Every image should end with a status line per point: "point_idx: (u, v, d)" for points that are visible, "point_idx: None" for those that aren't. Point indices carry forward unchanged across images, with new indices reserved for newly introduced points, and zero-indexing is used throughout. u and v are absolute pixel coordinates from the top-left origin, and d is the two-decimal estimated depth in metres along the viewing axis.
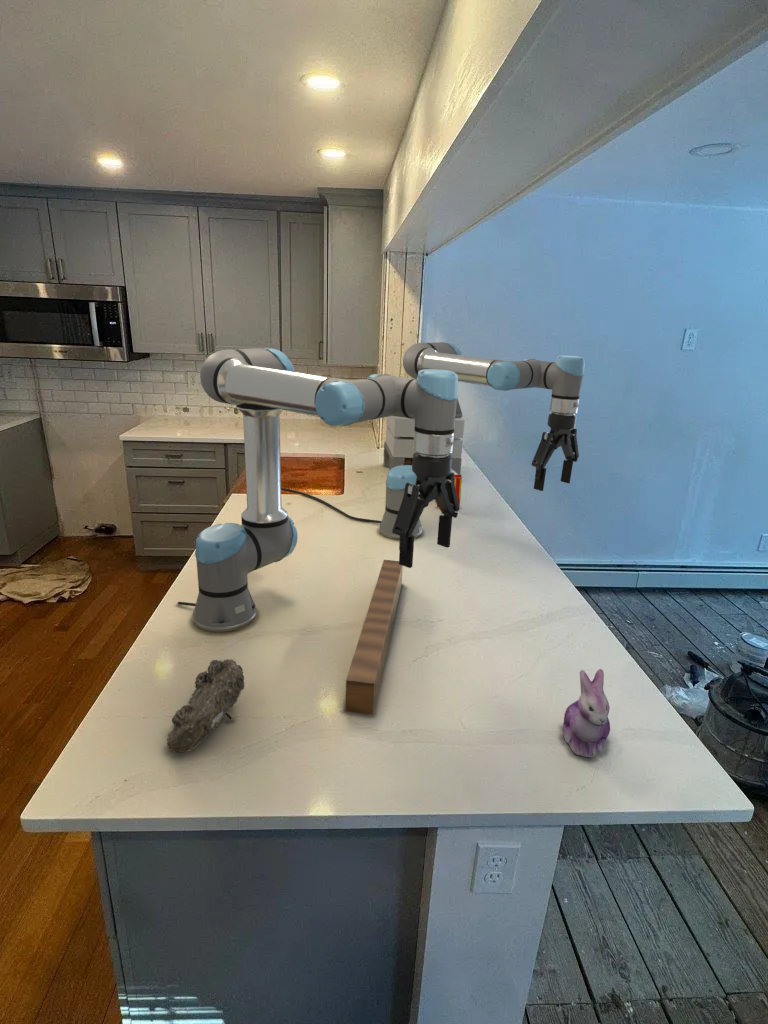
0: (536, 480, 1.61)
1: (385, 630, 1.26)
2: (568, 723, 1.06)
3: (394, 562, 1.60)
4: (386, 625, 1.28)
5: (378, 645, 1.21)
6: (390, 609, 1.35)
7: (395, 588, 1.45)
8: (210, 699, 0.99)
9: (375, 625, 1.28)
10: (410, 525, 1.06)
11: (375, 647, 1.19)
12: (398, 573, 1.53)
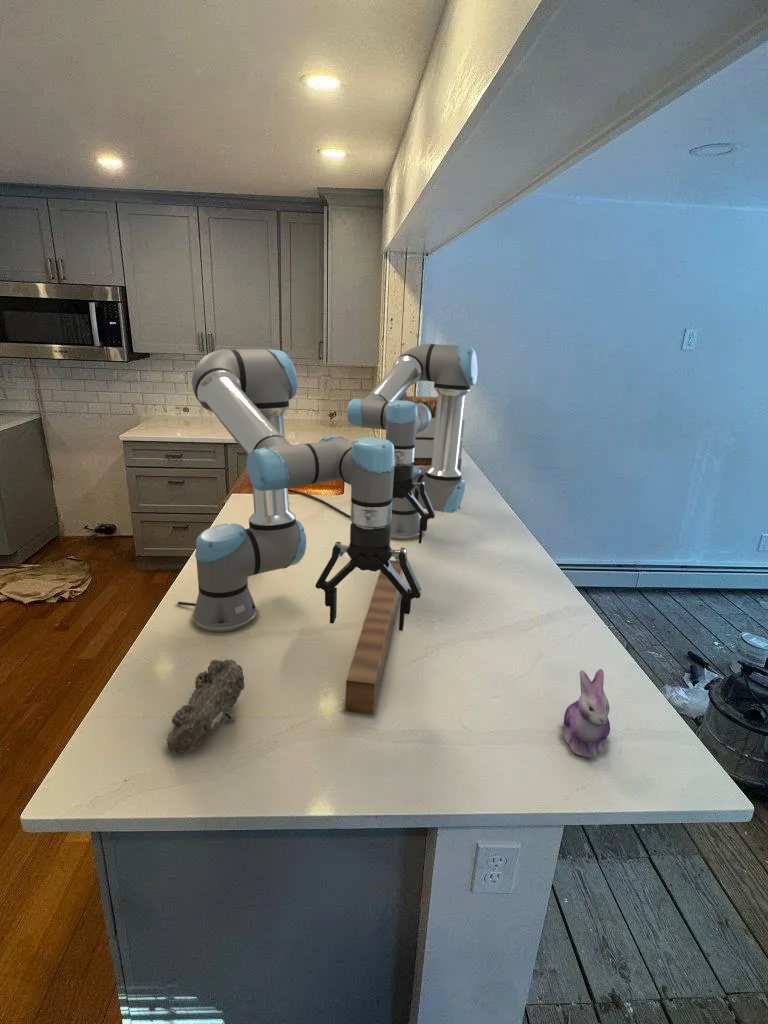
0: None
1: (385, 630, 1.26)
2: (568, 723, 1.06)
3: (394, 562, 1.60)
4: (386, 625, 1.28)
5: (378, 645, 1.21)
6: (390, 609, 1.35)
7: (395, 588, 1.45)
8: (210, 699, 0.99)
9: (375, 625, 1.28)
10: (330, 582, 1.09)
11: (375, 647, 1.19)
12: (398, 573, 1.53)
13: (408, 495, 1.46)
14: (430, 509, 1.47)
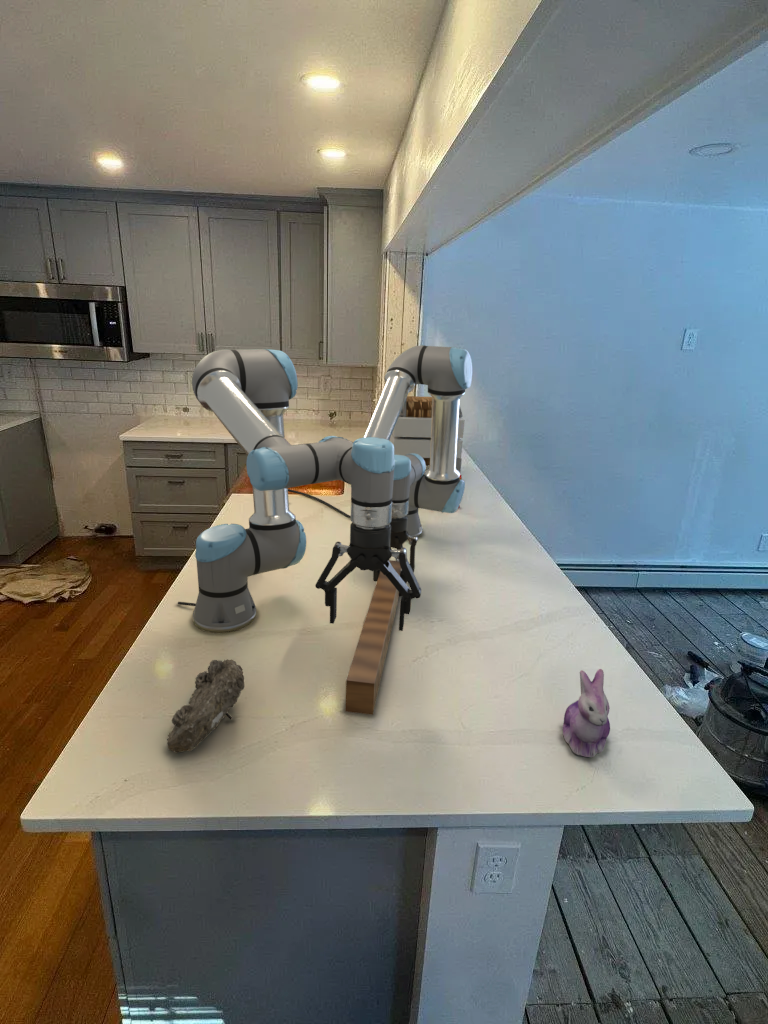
0: None
1: (385, 630, 1.26)
2: (568, 723, 1.06)
3: (394, 562, 1.60)
4: (386, 625, 1.28)
5: (378, 645, 1.21)
6: (390, 609, 1.35)
7: (395, 588, 1.45)
8: (210, 699, 0.99)
9: (375, 625, 1.28)
10: (330, 582, 1.09)
11: (375, 647, 1.19)
12: (398, 573, 1.53)
13: (399, 547, 1.51)
14: (412, 564, 1.52)
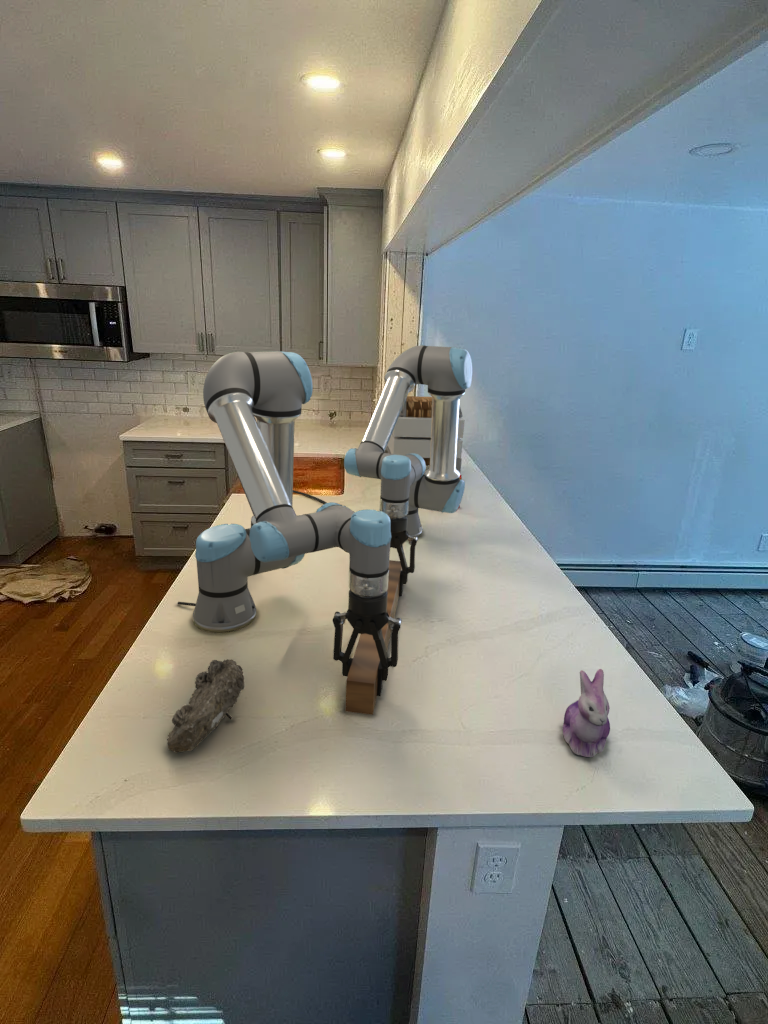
0: None
1: (385, 630, 1.26)
2: (568, 723, 1.06)
3: (394, 562, 1.60)
4: (386, 625, 1.28)
5: None
6: (390, 609, 1.35)
7: (395, 588, 1.45)
8: (210, 699, 0.99)
9: None
10: (344, 654, 1.14)
11: (375, 647, 1.19)
12: (398, 573, 1.53)
13: (399, 547, 1.51)
14: (412, 564, 1.52)
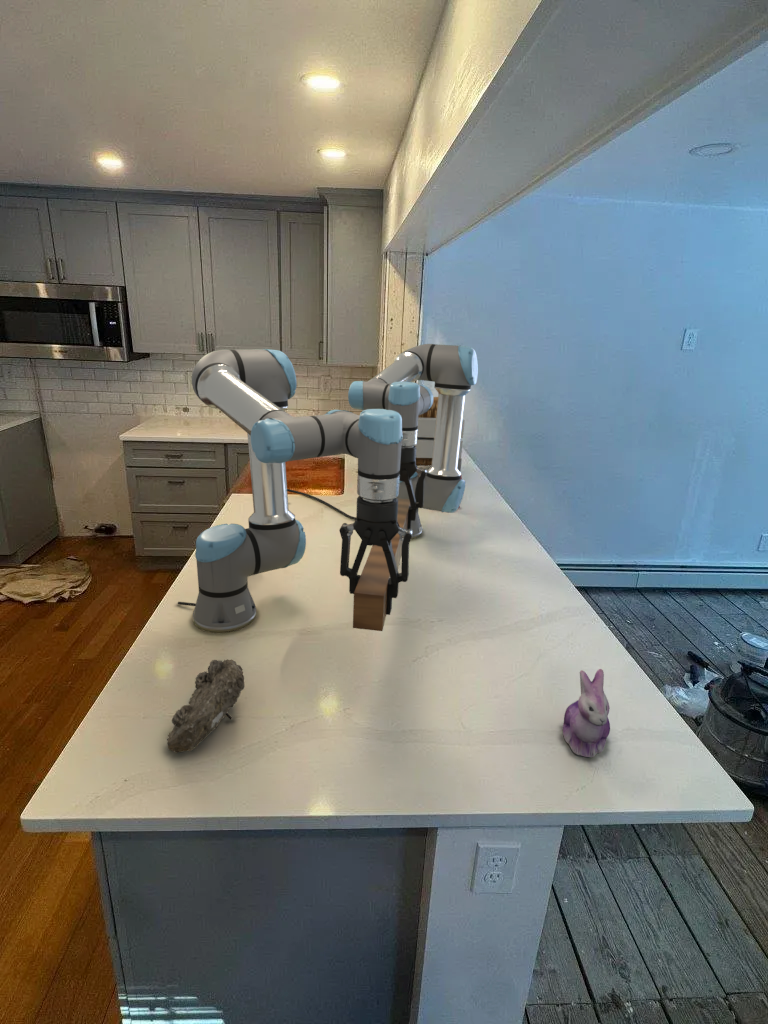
0: None
1: (394, 553, 1.20)
2: (568, 723, 1.06)
3: (402, 499, 1.54)
4: (395, 549, 1.22)
5: None
6: (399, 536, 1.28)
7: (404, 520, 1.39)
8: (210, 699, 0.99)
9: None
10: (352, 568, 1.07)
11: (384, 567, 1.13)
12: (406, 508, 1.47)
13: (407, 480, 1.44)
14: (421, 498, 1.46)
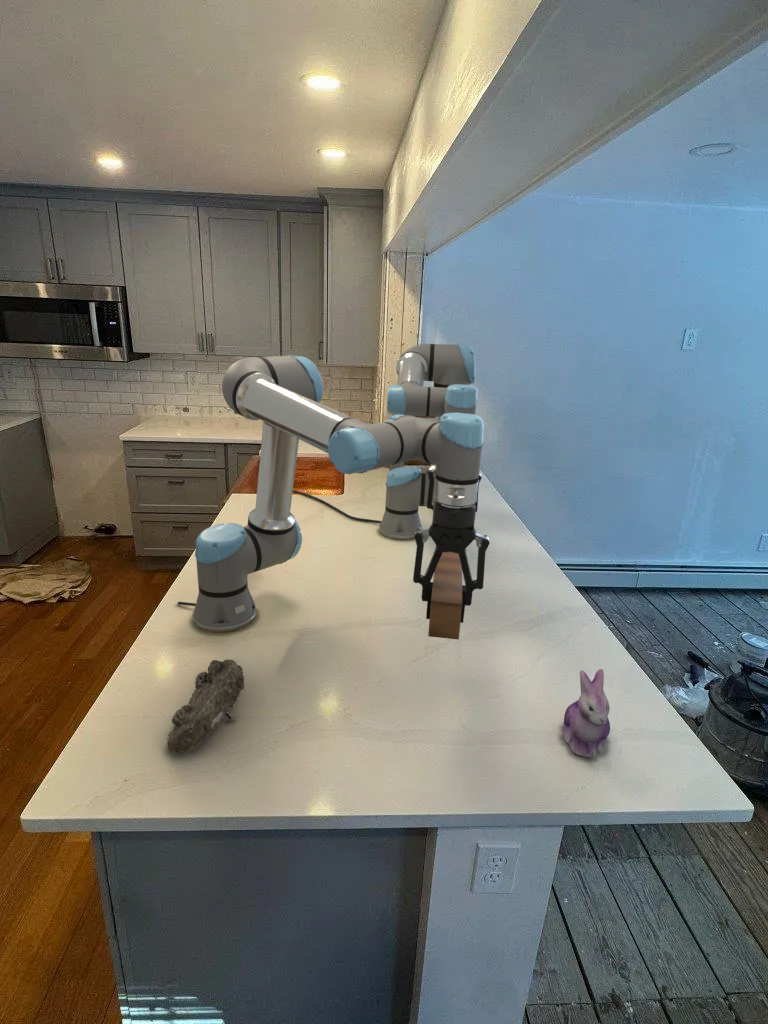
0: None
1: None
2: (568, 723, 1.06)
3: None
4: None
5: (457, 571, 1.12)
6: None
7: None
8: (210, 699, 0.99)
9: (448, 555, 1.19)
10: (425, 575, 1.05)
11: (454, 573, 1.11)
12: None
13: None
14: (476, 503, 1.44)
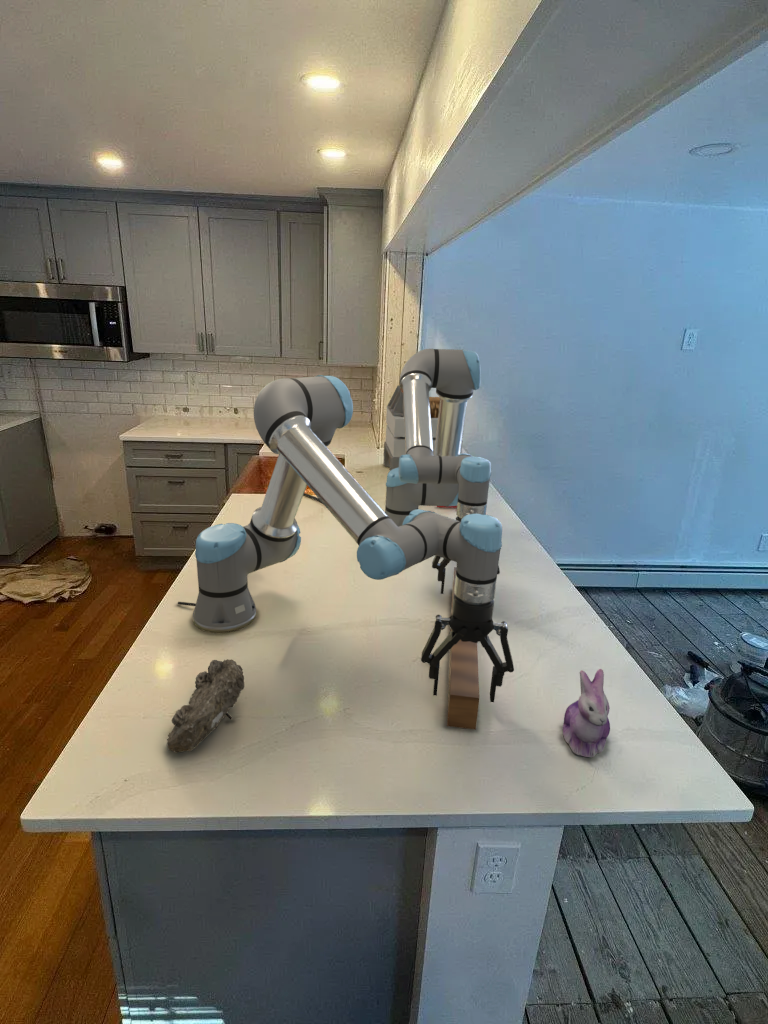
0: None
1: None
2: (568, 723, 1.06)
3: None
4: None
5: (473, 657, 1.18)
6: None
7: None
8: (210, 699, 0.99)
9: None
10: (435, 656, 1.10)
11: (470, 660, 1.17)
12: None
13: None
14: None
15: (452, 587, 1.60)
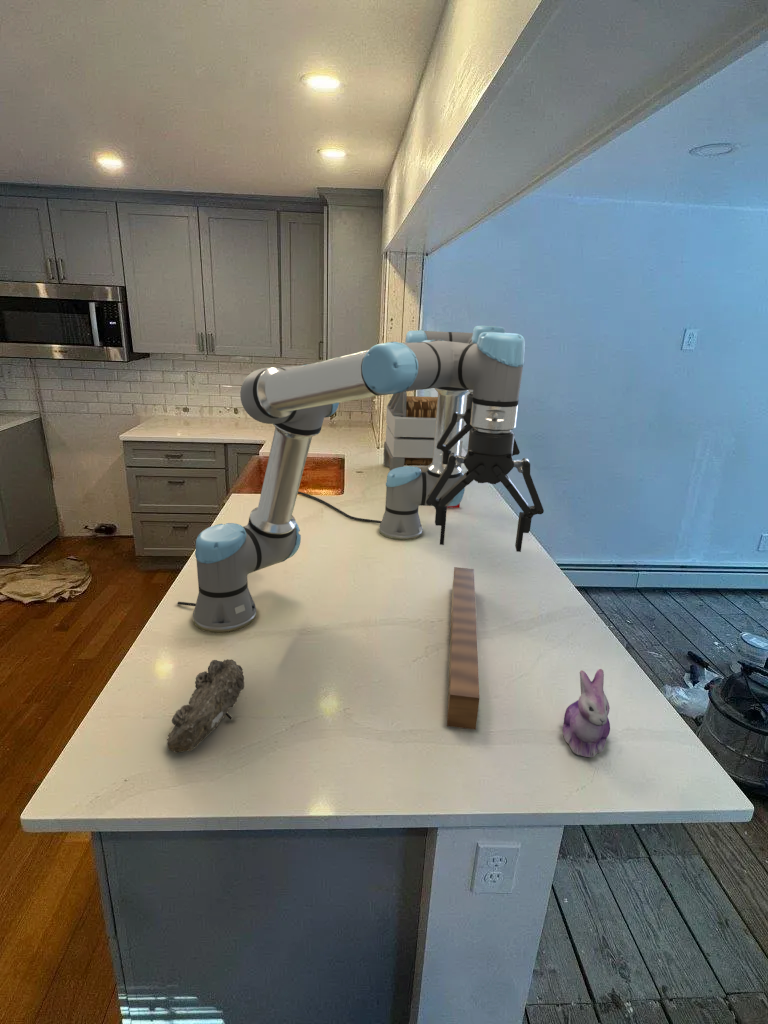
0: None
1: (475, 641, 1.23)
2: (568, 723, 1.06)
3: (466, 569, 1.58)
4: (475, 636, 1.25)
5: (473, 657, 1.18)
6: (475, 619, 1.32)
7: (474, 597, 1.42)
8: (210, 699, 0.99)
9: (464, 636, 1.25)
10: (443, 497, 0.99)
11: (470, 660, 1.17)
12: (472, 581, 1.51)
13: None
14: (515, 444, 1.37)
15: (452, 587, 1.60)
